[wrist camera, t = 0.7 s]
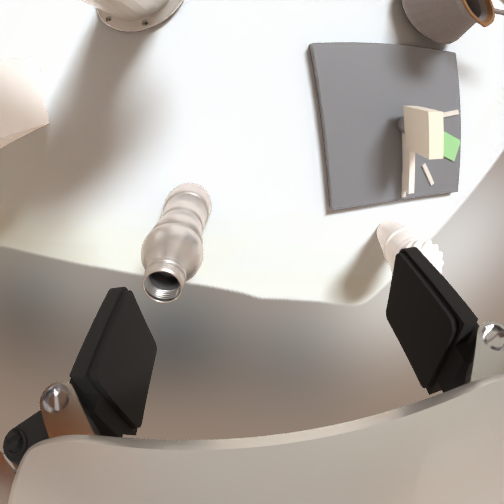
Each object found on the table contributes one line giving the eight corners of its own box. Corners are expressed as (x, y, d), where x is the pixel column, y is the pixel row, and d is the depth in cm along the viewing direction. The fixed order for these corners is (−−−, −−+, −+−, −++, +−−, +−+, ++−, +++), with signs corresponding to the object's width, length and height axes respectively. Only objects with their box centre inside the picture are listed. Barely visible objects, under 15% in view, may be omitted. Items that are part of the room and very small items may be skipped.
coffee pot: (403, 42, 30) (470, 37, 18) (384, -24, 24) (442, -51, 12) (492, 53, 29) (554, 61, 16) (479, -3, 23) (537, -7, 10)
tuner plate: (309, 44, 31) (312, 43, 30) (449, 52, 30) (456, 52, 29) (329, 206, 44) (333, 211, 42) (452, 188, 43) (458, 192, 41)
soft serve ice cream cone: (409, 241, 48) (458, 297, 34) (369, 258, 49) (410, 322, 35) (404, 200, 44) (461, 251, 30) (360, 218, 45) (407, 277, 31)
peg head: (395, 104, 34) (428, 111, 27) (409, 104, 34) (443, 111, 27) (397, 189, 41) (426, 211, 34) (410, 187, 40) (439, 209, 33)
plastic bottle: (222, 199, 42) (216, 286, 25) (190, 229, 44) (168, 325, 27) (189, 169, 39) (156, 239, 22) (158, 202, 42) (113, 287, 24)
